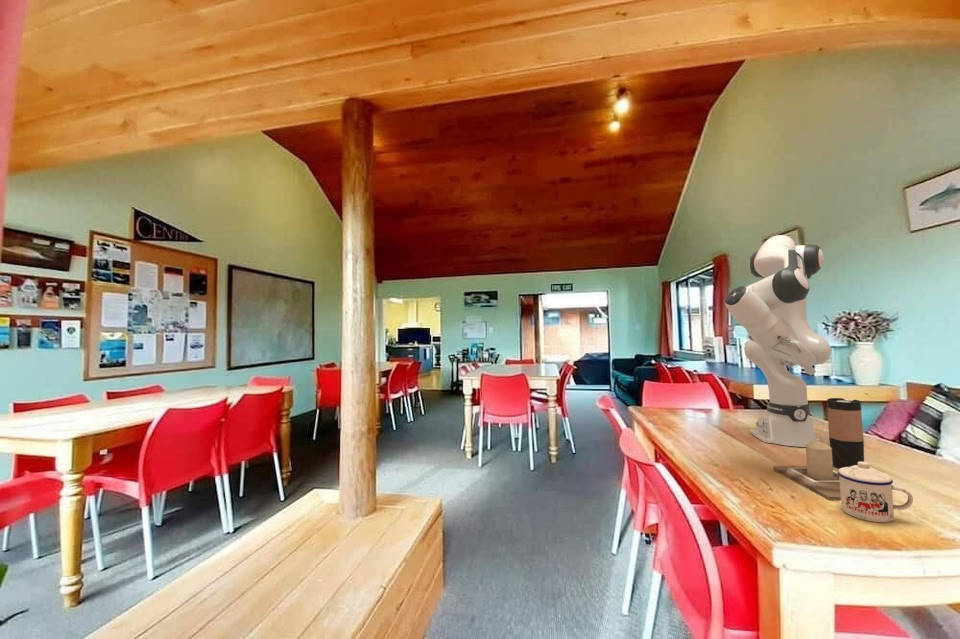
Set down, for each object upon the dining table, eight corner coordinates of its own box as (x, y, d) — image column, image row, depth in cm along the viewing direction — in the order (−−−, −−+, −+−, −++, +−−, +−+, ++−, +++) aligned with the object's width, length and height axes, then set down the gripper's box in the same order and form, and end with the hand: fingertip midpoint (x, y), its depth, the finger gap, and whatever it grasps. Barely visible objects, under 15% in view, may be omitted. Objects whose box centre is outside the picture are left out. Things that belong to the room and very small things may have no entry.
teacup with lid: (841, 516, 91) (838, 464, 91) (838, 502, 98) (835, 454, 98) (919, 531, 83) (915, 475, 83) (910, 514, 90) (906, 462, 90)
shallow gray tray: (773, 469, 121) (772, 462, 121) (819, 468, 119) (819, 462, 120) (829, 500, 99) (828, 492, 99) (886, 500, 98) (886, 491, 98)
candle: (839, 481, 108) (836, 443, 108) (819, 482, 108) (816, 444, 108) (821, 473, 114) (819, 438, 114) (802, 474, 114) (800, 439, 114)
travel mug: (839, 471, 117) (834, 402, 118) (825, 462, 124) (821, 397, 125) (872, 472, 115) (867, 402, 115) (856, 463, 122) (851, 398, 123)
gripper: (801, 332, 108) (836, 371, 108) (762, 322, 128) (791, 355, 128) (780, 347, 109) (815, 385, 109) (744, 335, 129) (773, 367, 129)
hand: (801, 369), depth 119 cm, fingers open, 8 cm apart
